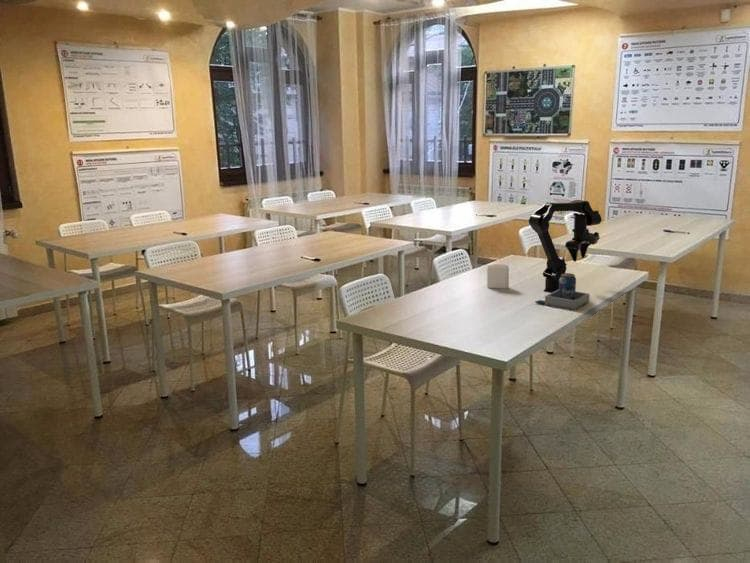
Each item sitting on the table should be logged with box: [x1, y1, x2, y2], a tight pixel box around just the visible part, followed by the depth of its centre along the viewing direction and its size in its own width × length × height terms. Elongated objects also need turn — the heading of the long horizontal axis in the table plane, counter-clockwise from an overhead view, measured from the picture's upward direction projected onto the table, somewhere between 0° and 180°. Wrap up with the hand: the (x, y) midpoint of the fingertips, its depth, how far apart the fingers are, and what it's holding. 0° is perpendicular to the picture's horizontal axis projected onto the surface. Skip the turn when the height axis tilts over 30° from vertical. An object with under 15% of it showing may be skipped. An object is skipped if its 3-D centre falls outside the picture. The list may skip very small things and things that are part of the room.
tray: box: [544, 289, 590, 311], centre depth 276 cm, size 14×14×4 cm
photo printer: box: [486, 262, 510, 290], centre depth 304 cm, size 10×4×12 cm, turn 70°
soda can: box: [558, 272, 577, 300], centre depth 275 cm, size 7×7×12 cm
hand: (579, 259), depth 300 cm, fingers open, 9 cm apart
